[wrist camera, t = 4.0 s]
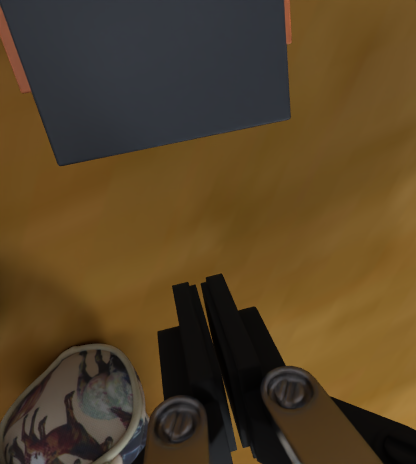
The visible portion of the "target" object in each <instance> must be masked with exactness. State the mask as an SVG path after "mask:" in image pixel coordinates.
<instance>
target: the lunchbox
mask: <svg viewBox="0 0 416 464" xmlns="http://www.w3.org/2000/svg"><path fill="white" fill-rule="evenodd" d="M0 37H1V40H2V42H3V45H4V48H5V50H6V53H7V56H8V58H9V61H10V64H11V66H12V69H13V72H14V74H15V77H16V80H17V82H18V85H19V88H20V90H21V92H22V93H28V92H32V94H33V97H34V100H35V103H36V105H37V108H38V111H39V114H40V116H41V119H42V122H43V125H44V128H45V130H46V133H47V136H48V139H49V141H50V144H51V147H52V150H53V152H54V155H55V158H56V161H57V163H58V165H59V166H64V165H69V164H74V163H79V162H84V161H89V160H94V159H99V158H104V157H108V156H113V155H118V154H123V153H128V152H133V151H138V150H143V149H148V148H152V147H157V146H162V145H167V144H172V143H177V142H182V141H187V140H192V139H196V138H201V137H206V136H211V135H216V134H221V133H226V132H231V131H236V130H240V129H245V128H250V127H255V126H260V125H265V124H270V123H275V122H280V121H284V120H289V119H290V117H291V115H290V97H289V79H288V61H287V44H290V43H291V42H292V38H291V18H290V0H0Z"/></svg>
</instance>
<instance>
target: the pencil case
mask: <svg viewBox="0 0 416 464" xmlns="http://www.w3.org/2000/svg"><path fill="white" fill-rule="evenodd" d="M148 423H149V417H148V415H147V413H146V411H145V397H144V392H143V388H142V385H141V382H140V379H139V376H138V375H137V373H136V371H135V369H134V367H133V366H132V364H131V362H130V361H129V359H128V358H127V356H126V355H125V354H124V353H123V352H122V351H121V350H119V349H118V348H116V347H114V346H111V345H107V344H88V345H83V346H79V347H77V346H73V347H71V348H69V349H67V350H66V351H64V352H63V353H61V354H60V355H59V356H58V358H57V359H56V360H55V361H54V362H53V363H52V364H51V365H50V366H49V367H48V368H47V370H46V371H45V372H44V373H42V374H41V375H40V376H39V377H38V378H37V379H36V380H35V381H34V382H33V383H32V384H31V385H29V386H28V387H27V388H26V389H25V390H24V391H23V393H22V394H21V395H20V396H19V397H18V398H17V399H16V400H15V402H14V403H13V404H12V406H11V407H10V408H9V410H8V411H7V413H6V414H5V416H4V418H3V419H2V421H1V423H0V464H131V463H132V462H133V461H134V460H135V458H136V457H137V456H138V454H139V453H140V452H141V450H142V449H143V448H144V447H145V445H146V437H147V428H148Z"/></svg>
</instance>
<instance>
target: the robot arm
mask: <svg viewBox="0 0 416 464" xmlns="http://www.w3.org/2000/svg"><path fill="white" fill-rule="evenodd" d="M172 288H173V294H174V299H175V304H176V310H177V315H178V321H179V326H177V327H173V328H169V329H165V330H161V331H158V345H159V355H160V364H161V374H162V384H163V394H164V401H163V402H161V403H160V404H159V405H158V406H157V407H156V408H155V410H154V411H153V413H152V414H151V416H150V419H149V423H148V428H147V437H146V445H145V447H144V448H143V449H142V450H141V452H140V453H139V454H138V456H137V457H136V458H135V460H134V461H133V462H132V463H131V464H233V462H232V457H231V453H230V452H232V451H235V450H237V447H236V442H235V437H234V432H233V428H232V423H231V418H230V413H229V408H228V403H227V398H226V393H225V388H226V392H227V395H228V399H229V402H230V406H231V409H232V412H233V416H234V419H235V423H236V426H237V430H238V433H239V437H240V440H241V443H242V447H243V448H245V447H249V446H250V448H251V451H252V454H253V458H257V461H258V462H260V463H262V464H416V430H414V429H412V428H410V427H408V426H406V425H403V424H401V423H398V422H395V421H393V420H390V419H388V418H385V417H382V416H380V415H377V414H375V413H372V412H369V411H367V410H364V409H362V408H359V407H357V406H354V405H351V404H349V403H346V402H344V401H341V400H338V399H336V398H333V397H331V396H329V395H328V394H327V392H326V391H325V390H324V389H323V387H322V386H321V385H320V384H319V382H318V381H317V380H316V379H315V378H314V377H313V376H312V375H311V374H310V373H309V372H308V371H306V370H304V369H302V368H299V367H294V366H286V365H285V363H284V361H283V359H282V357H281V355H280V353H279V351H278V349H277V348H276V346H275V344H274V342H273V340H272V338H271V336H270V334H269V332H268V330H267V328H266V326H265V324H264V322H263V320H262V318H261V316H260V314H259V312H258V310H257V308H256V307H255V306H254V307H250V308H246V309H242V310H239V311H238V310H237V307H236V305H235V303H234V300H233V298H232V296H231V293H230V291H229V289H228V286H227V284H226V282H225V279H224V277H223V275H222V274H218V275H214V276H210V277H206V282H204V283H201V288H202V293H203V298H204V303H205V308H206V312H207V317H208V322H209V327H210V332H211V336H212V339H211V336H210V332H209V329H208V326H207V322H206V319H205V315H204V312H203V308H202V305H201V301H200V298H199V295H198V291H197V288H196V285H192V286H189V283H188V282H185V283H181V284H177V285H173V286H172ZM212 341H213V343H212ZM221 374H222V375H221ZM222 378H223V379H222ZM223 381H224V383H223ZM224 385H225V388H224Z"/></svg>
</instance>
